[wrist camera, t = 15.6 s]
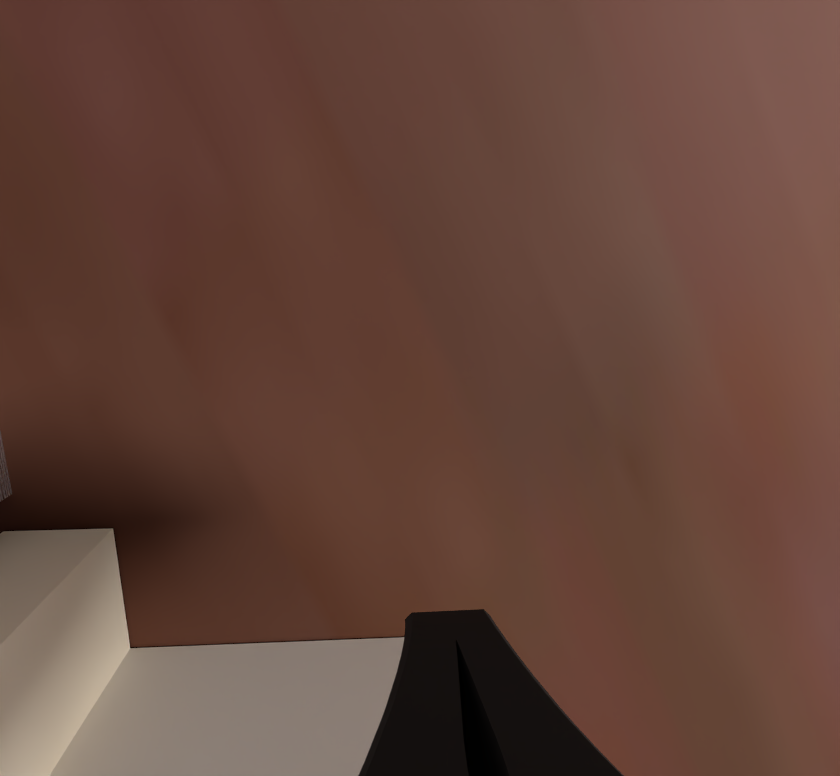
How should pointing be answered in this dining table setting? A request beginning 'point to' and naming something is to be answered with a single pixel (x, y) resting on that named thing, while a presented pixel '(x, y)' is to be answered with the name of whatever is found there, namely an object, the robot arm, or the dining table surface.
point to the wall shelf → (165, 682)
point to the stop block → (4, 475)
